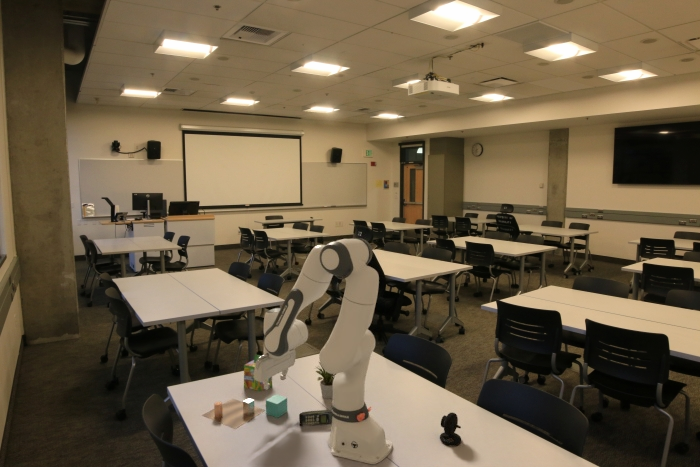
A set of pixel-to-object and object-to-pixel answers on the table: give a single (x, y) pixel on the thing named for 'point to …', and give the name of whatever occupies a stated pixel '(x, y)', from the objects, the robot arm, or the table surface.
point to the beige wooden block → (248, 406)
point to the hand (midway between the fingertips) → (275, 383)
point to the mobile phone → (315, 417)
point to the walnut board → (233, 414)
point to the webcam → (450, 429)
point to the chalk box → (249, 376)
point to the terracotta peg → (218, 410)
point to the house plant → (326, 383)
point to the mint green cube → (276, 405)
